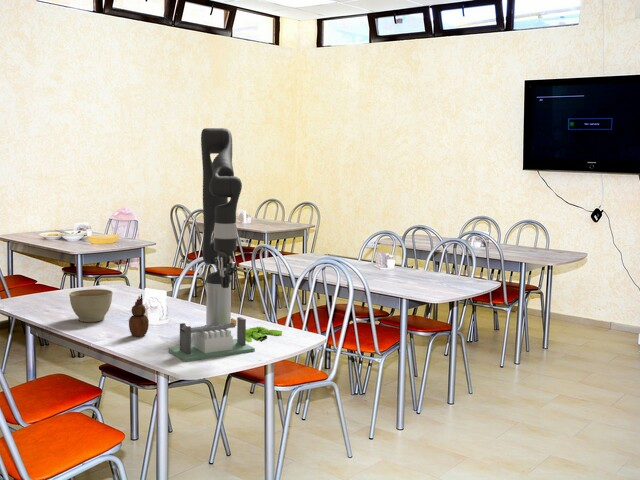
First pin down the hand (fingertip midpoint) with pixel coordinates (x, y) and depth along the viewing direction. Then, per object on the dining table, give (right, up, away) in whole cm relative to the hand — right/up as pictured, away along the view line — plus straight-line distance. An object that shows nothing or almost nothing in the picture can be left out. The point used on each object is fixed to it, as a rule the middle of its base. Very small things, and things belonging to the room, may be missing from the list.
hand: (225, 287), depth 237 cm
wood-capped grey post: (-5, -14, -1) cm, 15 cm away
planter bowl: (-58, -16, +40) cm, 72 cm away
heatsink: (-5, -21, 0) cm, 22 cm away
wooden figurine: (-34, -19, +18) cm, 42 cm away
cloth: (+11, -20, +22) cm, 31 cm away
